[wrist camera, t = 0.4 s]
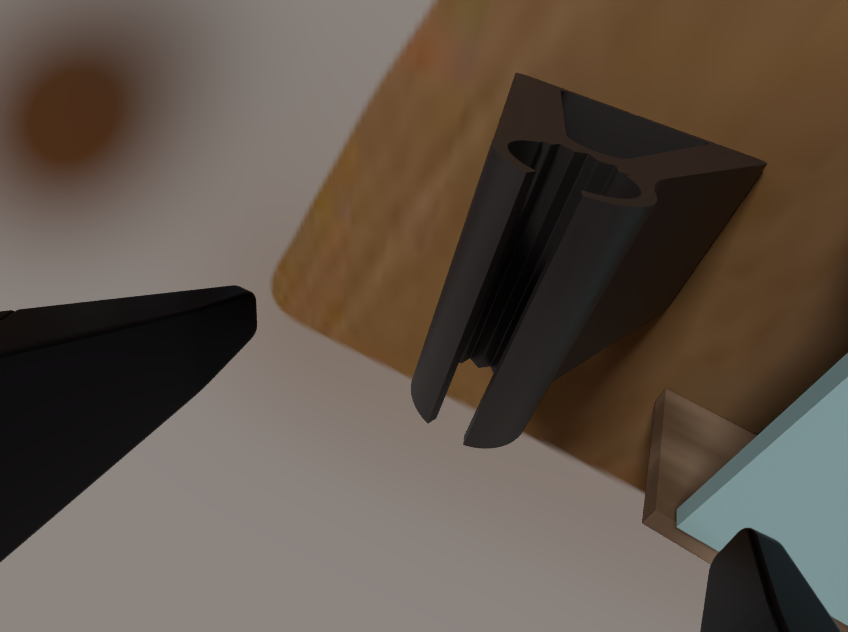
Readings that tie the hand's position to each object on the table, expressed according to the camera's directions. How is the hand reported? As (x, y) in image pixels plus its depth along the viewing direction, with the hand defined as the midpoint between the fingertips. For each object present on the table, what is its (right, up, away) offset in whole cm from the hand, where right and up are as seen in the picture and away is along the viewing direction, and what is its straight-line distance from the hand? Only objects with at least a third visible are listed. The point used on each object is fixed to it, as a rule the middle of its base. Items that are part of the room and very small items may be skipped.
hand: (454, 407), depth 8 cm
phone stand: (+6, +6, +10) cm, 14 cm away
